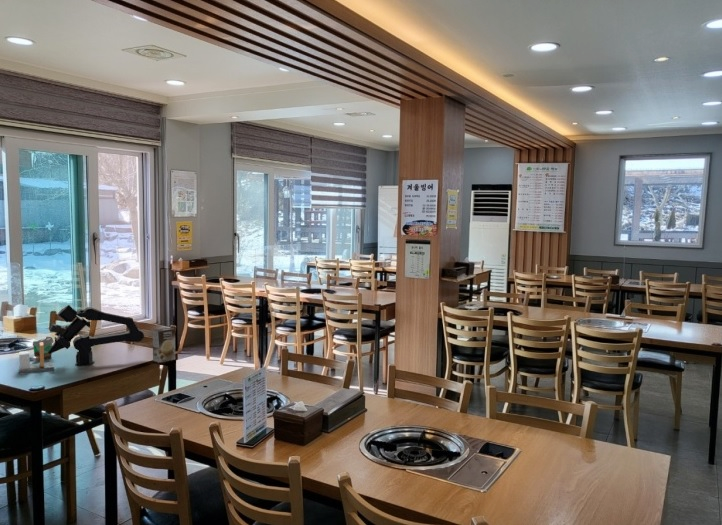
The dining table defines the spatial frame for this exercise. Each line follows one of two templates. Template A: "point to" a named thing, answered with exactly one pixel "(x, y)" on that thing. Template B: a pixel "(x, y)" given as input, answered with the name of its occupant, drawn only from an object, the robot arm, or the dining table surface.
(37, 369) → the bearing base
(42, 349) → the tan trapezoid block
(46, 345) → the food container
